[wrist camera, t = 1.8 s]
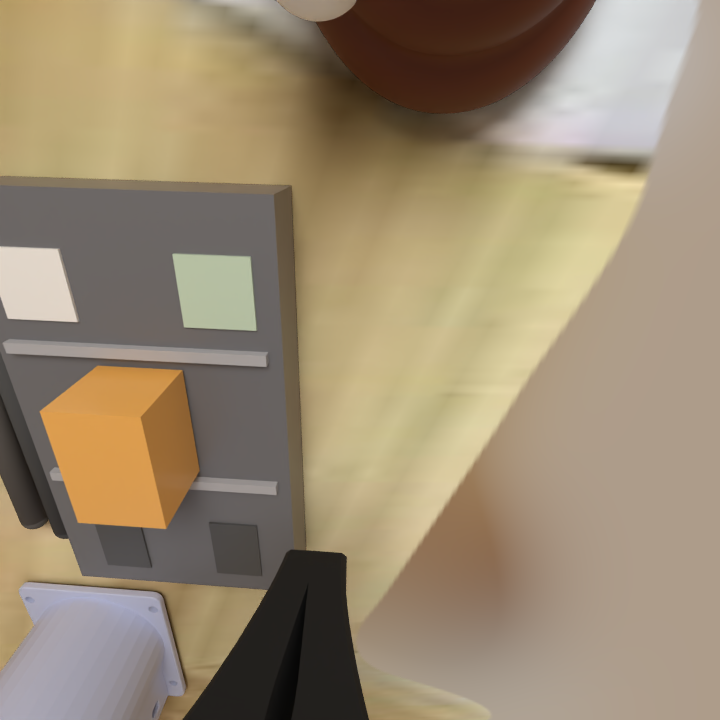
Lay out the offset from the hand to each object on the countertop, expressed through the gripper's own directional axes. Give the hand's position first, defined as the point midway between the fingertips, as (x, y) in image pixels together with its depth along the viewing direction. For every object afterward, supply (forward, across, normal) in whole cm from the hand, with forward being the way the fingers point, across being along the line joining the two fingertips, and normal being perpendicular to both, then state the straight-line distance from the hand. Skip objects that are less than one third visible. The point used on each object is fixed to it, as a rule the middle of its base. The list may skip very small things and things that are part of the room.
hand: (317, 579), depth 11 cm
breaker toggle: (+6, +7, 0) cm, 9 cm away
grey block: (+9, +7, +1) cm, 11 cm away
